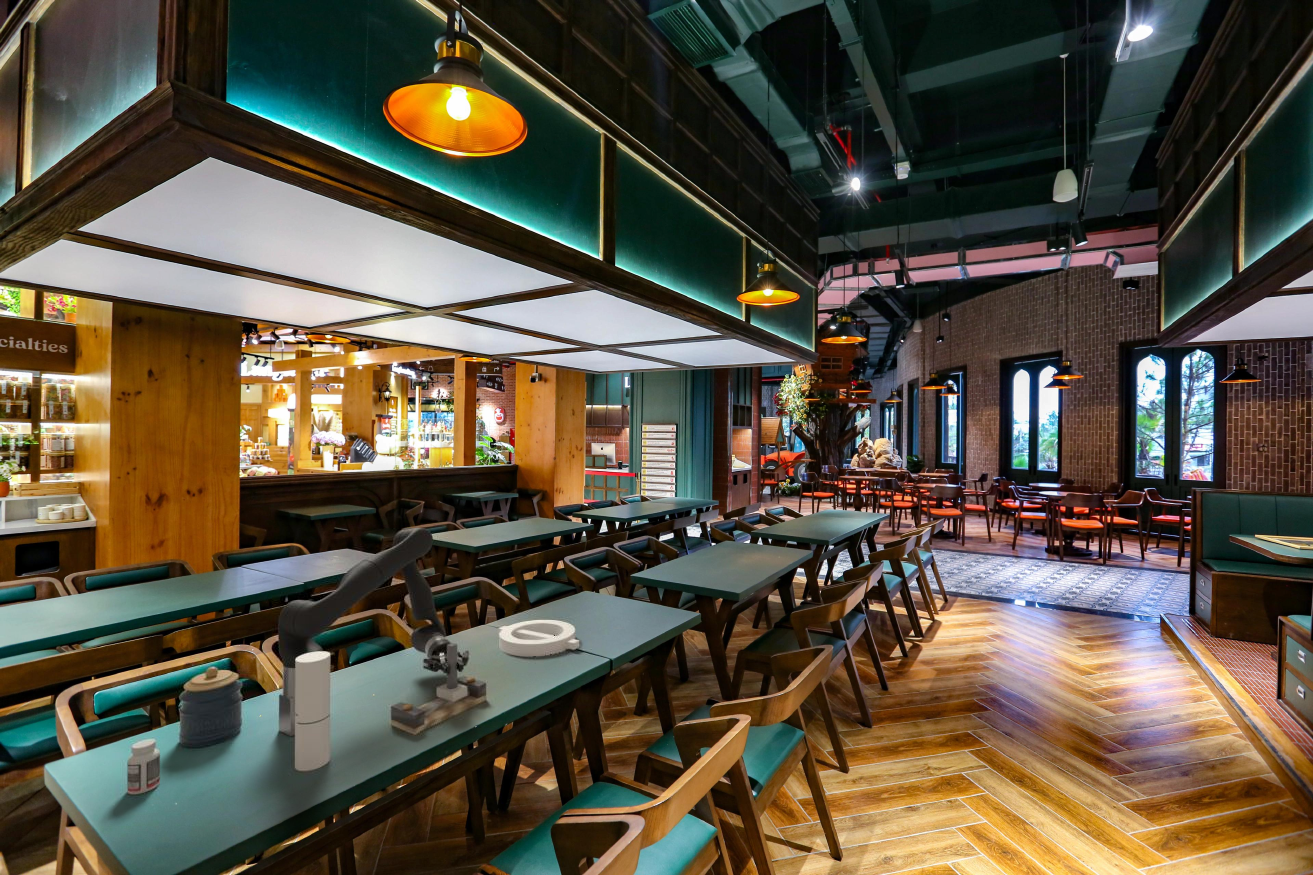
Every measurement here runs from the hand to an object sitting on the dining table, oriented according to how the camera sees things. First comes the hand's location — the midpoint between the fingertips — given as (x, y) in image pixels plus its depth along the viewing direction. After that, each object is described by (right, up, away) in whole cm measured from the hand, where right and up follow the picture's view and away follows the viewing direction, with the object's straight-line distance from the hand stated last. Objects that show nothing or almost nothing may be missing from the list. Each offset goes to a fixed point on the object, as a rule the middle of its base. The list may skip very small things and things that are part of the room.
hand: (454, 669), depth 165 cm
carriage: (-2, -8, +2) cm, 9 cm away
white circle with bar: (+12, -13, +55) cm, 58 cm away
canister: (-58, -12, -14) cm, 61 cm away
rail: (-4, -12, -1) cm, 12 cm away
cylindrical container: (-24, -12, -27) cm, 38 cm away
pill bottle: (-55, -11, -37) cm, 68 cm away
